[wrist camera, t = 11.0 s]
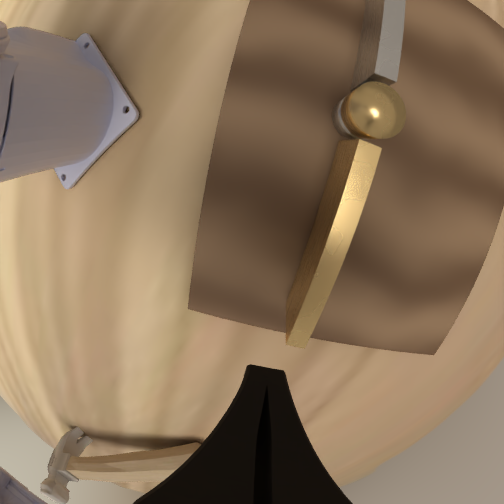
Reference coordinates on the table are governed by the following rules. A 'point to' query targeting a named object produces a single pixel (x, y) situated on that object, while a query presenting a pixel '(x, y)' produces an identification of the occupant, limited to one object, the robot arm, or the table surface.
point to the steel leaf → (376, 51)
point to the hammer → (107, 465)
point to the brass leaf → (341, 203)
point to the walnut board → (383, 184)
